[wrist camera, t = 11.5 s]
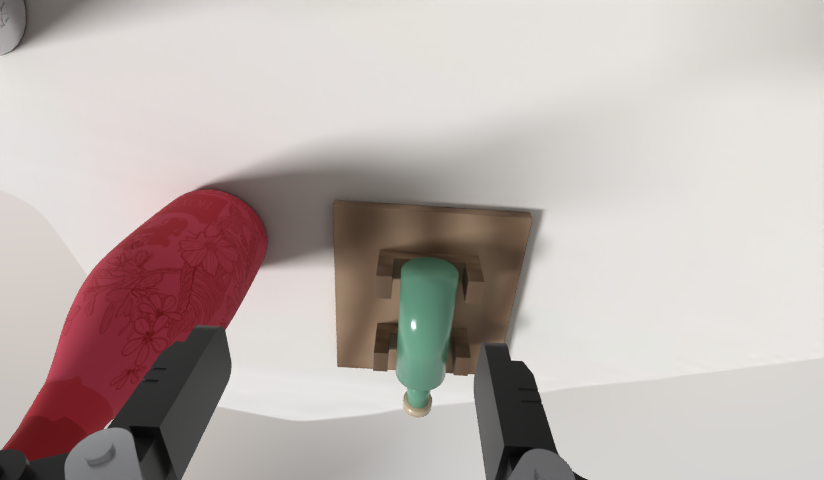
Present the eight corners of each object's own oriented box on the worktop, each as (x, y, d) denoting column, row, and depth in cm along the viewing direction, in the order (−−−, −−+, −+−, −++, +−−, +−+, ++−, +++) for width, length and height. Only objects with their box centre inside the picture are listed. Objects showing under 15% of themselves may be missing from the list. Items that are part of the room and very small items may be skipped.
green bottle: (401, 255, 39) (401, 288, 35) (455, 257, 40) (462, 290, 35) (393, 386, 48) (393, 425, 44) (438, 387, 48) (442, 426, 44)
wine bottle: (251, 174, 38) (-99, 557, 12) (286, 265, 43) (88, 679, 17) (149, 192, 39) (-376, 582, 13) (194, 279, 44) (-125, 691, 18)
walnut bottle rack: (339, 359, 49) (330, 398, 45) (335, 200, 39) (324, 228, 35) (494, 367, 50) (503, 407, 45) (529, 212, 40) (544, 242, 35)
